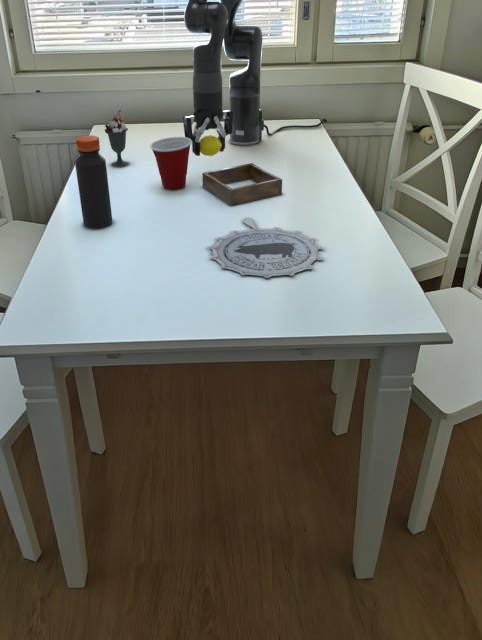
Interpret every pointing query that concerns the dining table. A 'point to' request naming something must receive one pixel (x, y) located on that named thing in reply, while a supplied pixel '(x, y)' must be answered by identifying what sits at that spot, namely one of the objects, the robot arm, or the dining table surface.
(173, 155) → the plastic cup
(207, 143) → the lemon
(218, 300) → the dining table surface
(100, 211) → the bottle
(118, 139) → the sundae
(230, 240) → the decorative wall hanging
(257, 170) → the wooden box
